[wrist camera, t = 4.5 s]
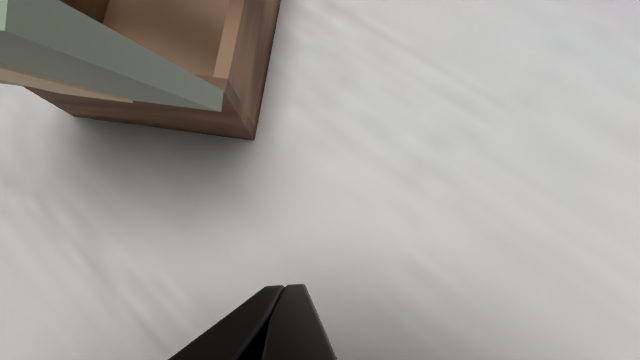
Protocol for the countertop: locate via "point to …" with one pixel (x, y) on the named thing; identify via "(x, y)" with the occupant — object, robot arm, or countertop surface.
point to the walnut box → (188, 60)
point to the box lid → (90, 59)
